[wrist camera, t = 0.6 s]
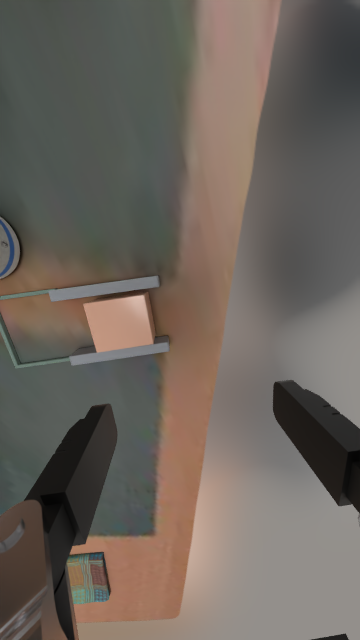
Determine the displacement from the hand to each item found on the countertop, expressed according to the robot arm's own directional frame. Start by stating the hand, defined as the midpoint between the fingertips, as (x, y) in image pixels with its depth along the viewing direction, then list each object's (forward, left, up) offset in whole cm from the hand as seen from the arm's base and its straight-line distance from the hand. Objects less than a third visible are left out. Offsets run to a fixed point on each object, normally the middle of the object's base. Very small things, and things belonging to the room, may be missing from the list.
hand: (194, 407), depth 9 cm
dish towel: (+62, -38, -22) cm, 76 cm away
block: (-1, -8, -22) cm, 23 cm away
